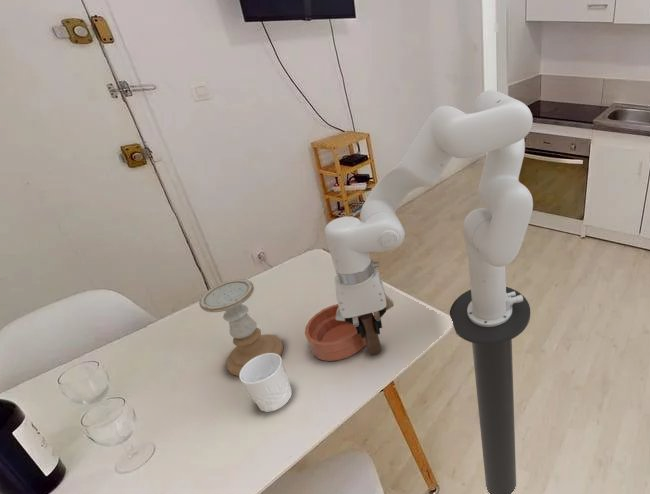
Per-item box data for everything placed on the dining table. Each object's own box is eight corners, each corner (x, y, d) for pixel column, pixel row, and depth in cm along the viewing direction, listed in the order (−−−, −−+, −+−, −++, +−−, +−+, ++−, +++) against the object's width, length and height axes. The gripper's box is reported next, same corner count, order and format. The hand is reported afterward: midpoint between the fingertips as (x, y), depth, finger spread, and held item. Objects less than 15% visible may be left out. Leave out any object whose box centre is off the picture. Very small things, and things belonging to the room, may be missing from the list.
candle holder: (260, 380, 94) (228, 315, 84) (215, 372, 97) (179, 308, 87) (294, 341, 105) (270, 279, 95) (253, 334, 107) (225, 273, 97)
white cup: (257, 390, 92) (241, 360, 87) (295, 378, 95) (282, 348, 90) (253, 420, 86) (236, 389, 81) (294, 406, 88) (280, 375, 83)
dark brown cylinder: (381, 345, 103) (372, 309, 97) (382, 353, 101) (373, 317, 95) (368, 348, 102) (359, 312, 96) (369, 357, 100) (359, 320, 94)
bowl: (369, 313, 113) (365, 297, 110) (373, 352, 101) (368, 334, 98) (313, 328, 109) (307, 311, 106) (309, 369, 97) (302, 352, 94)
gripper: (391, 253, 95) (403, 313, 104) (315, 269, 90) (334, 330, 99) (394, 272, 89) (406, 333, 98) (313, 290, 84) (334, 353, 93)
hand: (370, 331), depth 98 cm, fingers closed on dark brown cylinder, 2 cm apart
